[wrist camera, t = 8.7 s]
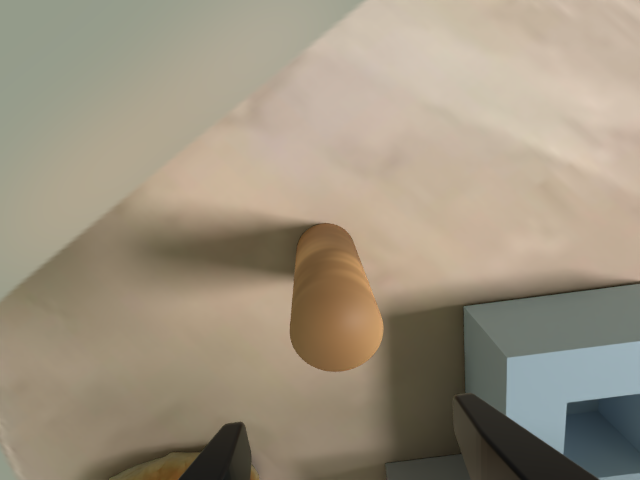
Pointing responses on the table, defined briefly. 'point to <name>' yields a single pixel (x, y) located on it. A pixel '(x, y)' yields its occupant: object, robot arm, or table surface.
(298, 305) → the dowel
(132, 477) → the pastry
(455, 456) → the wall
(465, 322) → the block
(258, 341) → the table surface
